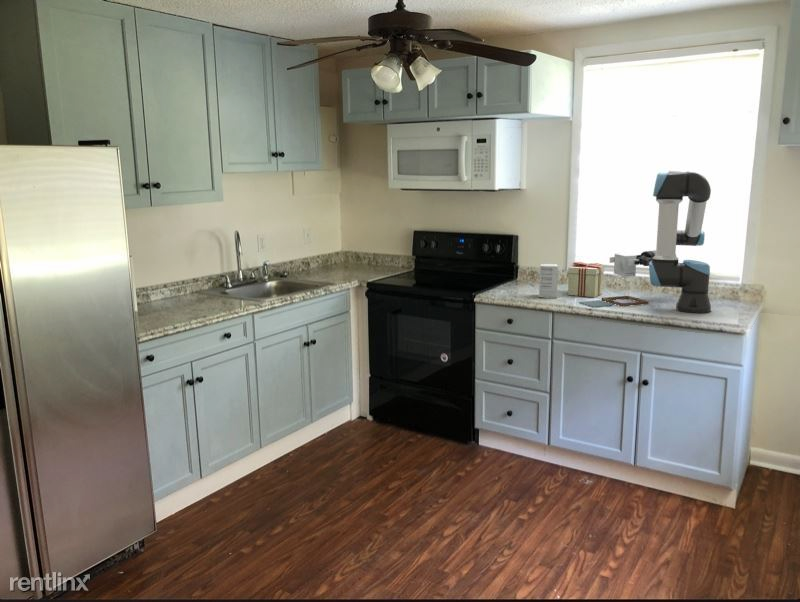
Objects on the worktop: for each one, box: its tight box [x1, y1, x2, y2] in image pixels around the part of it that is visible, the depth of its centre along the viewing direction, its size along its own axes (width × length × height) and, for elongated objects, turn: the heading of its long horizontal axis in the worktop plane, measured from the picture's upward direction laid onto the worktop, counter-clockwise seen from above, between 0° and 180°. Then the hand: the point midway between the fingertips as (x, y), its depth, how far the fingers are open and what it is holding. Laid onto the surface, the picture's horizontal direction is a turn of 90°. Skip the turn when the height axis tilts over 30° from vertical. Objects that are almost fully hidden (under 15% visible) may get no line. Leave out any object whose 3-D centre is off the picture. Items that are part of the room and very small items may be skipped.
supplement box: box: [538, 263, 559, 299], centre depth 352 cm, size 10×9×17 cm
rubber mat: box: [578, 299, 615, 308], centre depth 332 cm, size 12×12×1 cm
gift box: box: [567, 261, 605, 298], centre depth 358 cm, size 17×18×17 cm
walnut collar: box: [601, 295, 650, 307], centre depth 336 cm, size 16×16×2 cm
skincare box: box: [613, 252, 637, 278], centre depth 333 cm, size 10×6×10 cm, turn 12°
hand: (619, 261), depth 331 cm, fingers closed on skincare box, 11 cm apart
